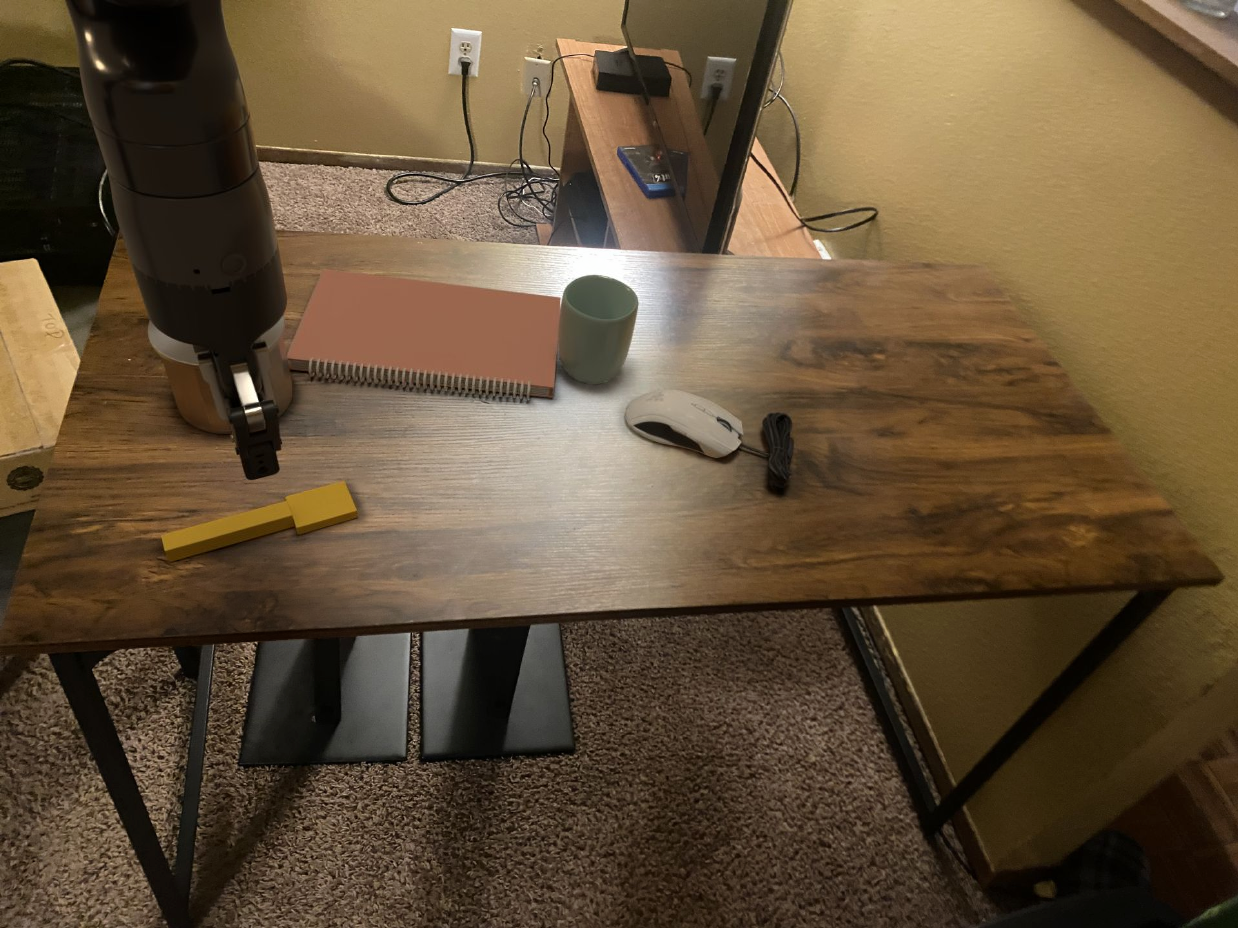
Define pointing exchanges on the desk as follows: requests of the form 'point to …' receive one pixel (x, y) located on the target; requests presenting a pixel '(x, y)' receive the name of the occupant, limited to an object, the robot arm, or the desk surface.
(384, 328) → the notebook
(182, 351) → the pot lid
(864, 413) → the desk surface
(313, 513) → the stepped yellow stick
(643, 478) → the desk surface
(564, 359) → the cup
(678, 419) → the computer mouse
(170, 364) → the pot
